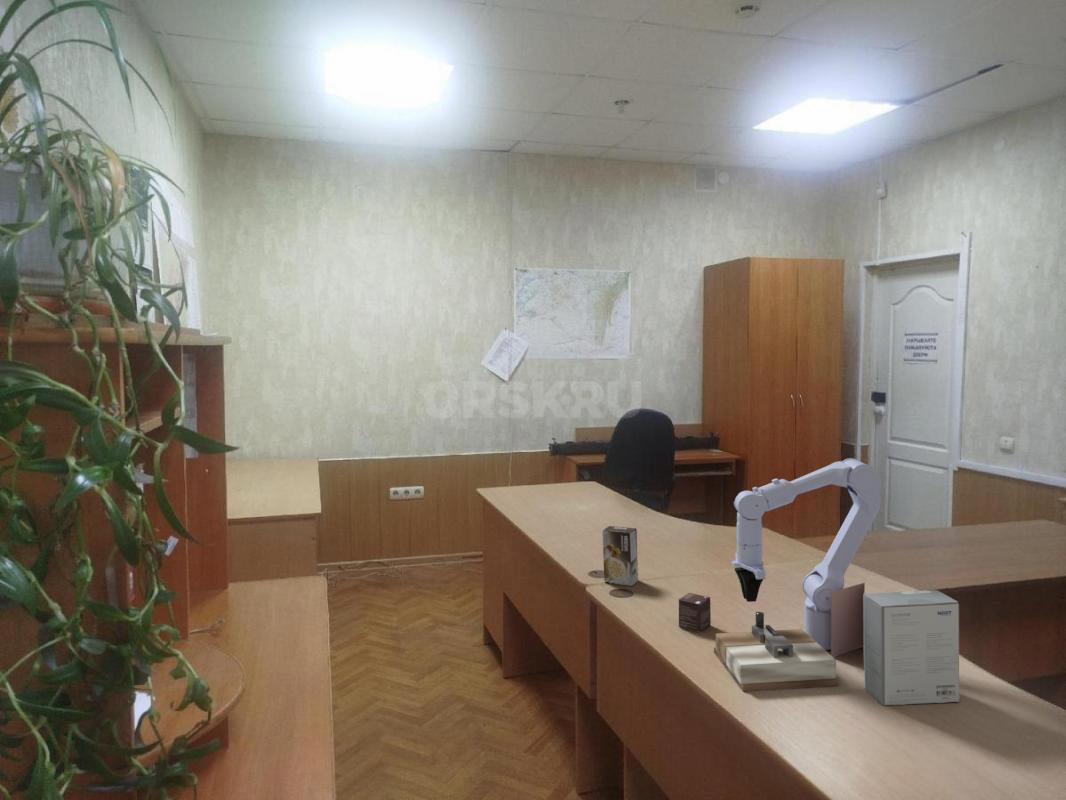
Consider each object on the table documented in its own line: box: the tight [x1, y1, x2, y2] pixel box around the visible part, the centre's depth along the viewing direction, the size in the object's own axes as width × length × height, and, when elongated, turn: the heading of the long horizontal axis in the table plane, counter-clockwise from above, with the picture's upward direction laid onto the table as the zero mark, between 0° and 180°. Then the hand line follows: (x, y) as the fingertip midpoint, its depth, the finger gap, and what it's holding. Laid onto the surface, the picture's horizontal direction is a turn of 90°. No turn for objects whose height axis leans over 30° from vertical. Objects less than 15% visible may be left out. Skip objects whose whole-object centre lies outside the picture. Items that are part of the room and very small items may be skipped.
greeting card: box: [830, 582, 866, 665], centre depth 160 cm, size 11×7×15 cm, turn 119°
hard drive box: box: [863, 589, 960, 706], centre depth 142 cm, size 16×8×20 cm, turn 92°
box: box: [678, 592, 712, 633], centre depth 180 cm, size 6×6×7 cm
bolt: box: [754, 611, 773, 640], centre depth 161 cm, size 7×2×4 cm, turn 3°
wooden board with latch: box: [713, 624, 839, 692], centre depth 156 cm, size 19×20×8 cm
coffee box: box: [602, 525, 639, 587], centre depth 216 cm, size 9×6×16 cm
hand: (749, 599), depth 169 cm, fingers closed
